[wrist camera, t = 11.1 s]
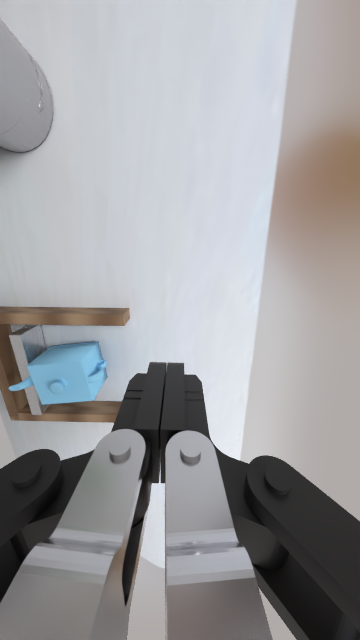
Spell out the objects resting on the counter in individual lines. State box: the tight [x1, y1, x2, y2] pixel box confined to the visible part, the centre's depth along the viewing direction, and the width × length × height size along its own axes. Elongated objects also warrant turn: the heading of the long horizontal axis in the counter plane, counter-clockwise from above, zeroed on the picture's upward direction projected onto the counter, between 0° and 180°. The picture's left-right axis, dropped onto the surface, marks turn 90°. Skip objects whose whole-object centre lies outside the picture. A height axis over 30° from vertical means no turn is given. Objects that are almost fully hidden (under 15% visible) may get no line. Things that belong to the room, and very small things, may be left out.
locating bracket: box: [0, 307, 130, 423], centre depth 32 cm, size 20×18×3 cm
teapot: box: [9, 342, 107, 404], centre depth 30 cm, size 12×6×8 cm, turn 96°
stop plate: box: [9, 324, 51, 415], centre depth 32 cm, size 2×13×4 cm, turn 0°
